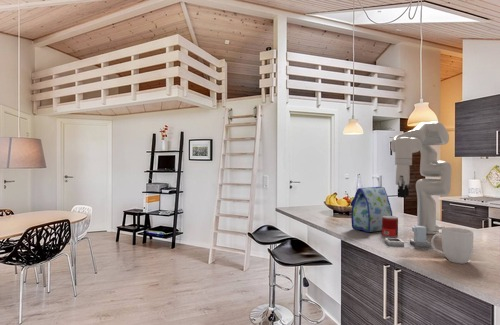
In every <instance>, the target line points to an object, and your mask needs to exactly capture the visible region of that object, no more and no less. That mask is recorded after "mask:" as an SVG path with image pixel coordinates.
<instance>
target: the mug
mask: <svg viewBox="0 0 500 325" xmlns="http://www.w3.org/2000/svg"><path fill="white" fill-rule="evenodd" d="M436 237H441V247H442V250H440V249H438V248H437V246H435V242H434V241H435V239H436ZM430 240H431V241H430V243H431V246H432V247H433V249H434V251H435V252H437V253H439V254H442V255H443V256H445V257H446V260H448V261H449V262H451V263H455V264H466V263H467V262H469V261H470V259H471V257H472V254H473V252H474V251H473V250H474V231H473V230H470V229H467V228H463V227H462V228H461V227H455V226H454V227H452V226H445V227H444V228H442V230H441V233H440V232H439V233H438V234H433V236H432V238H431V239H430Z"/></svg>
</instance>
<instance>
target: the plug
mask: <svg viewBox="0 0 500 325" xmlns="http://www.w3.org/2000/svg"><path fill="white" fill-rule="evenodd" d="M411 230H412V232H413V239H414V241H415V242H425V243H426V240H427V234H426V227H424V226H417V225H413V226H412V227H411Z"/></svg>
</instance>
